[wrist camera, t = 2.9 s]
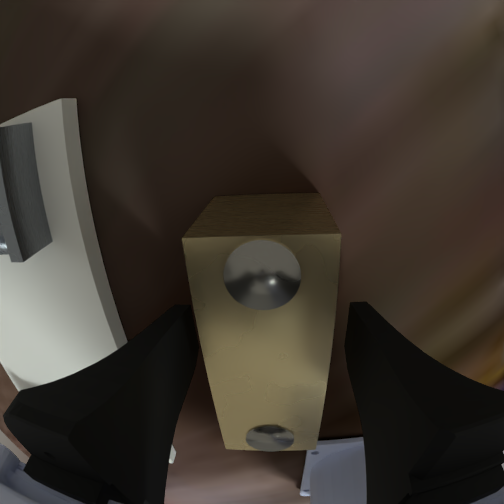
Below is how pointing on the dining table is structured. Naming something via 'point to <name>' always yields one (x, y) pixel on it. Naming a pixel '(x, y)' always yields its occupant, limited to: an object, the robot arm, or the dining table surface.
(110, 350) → the board
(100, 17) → the dining table surface
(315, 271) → the brass block
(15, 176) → the chain ends
